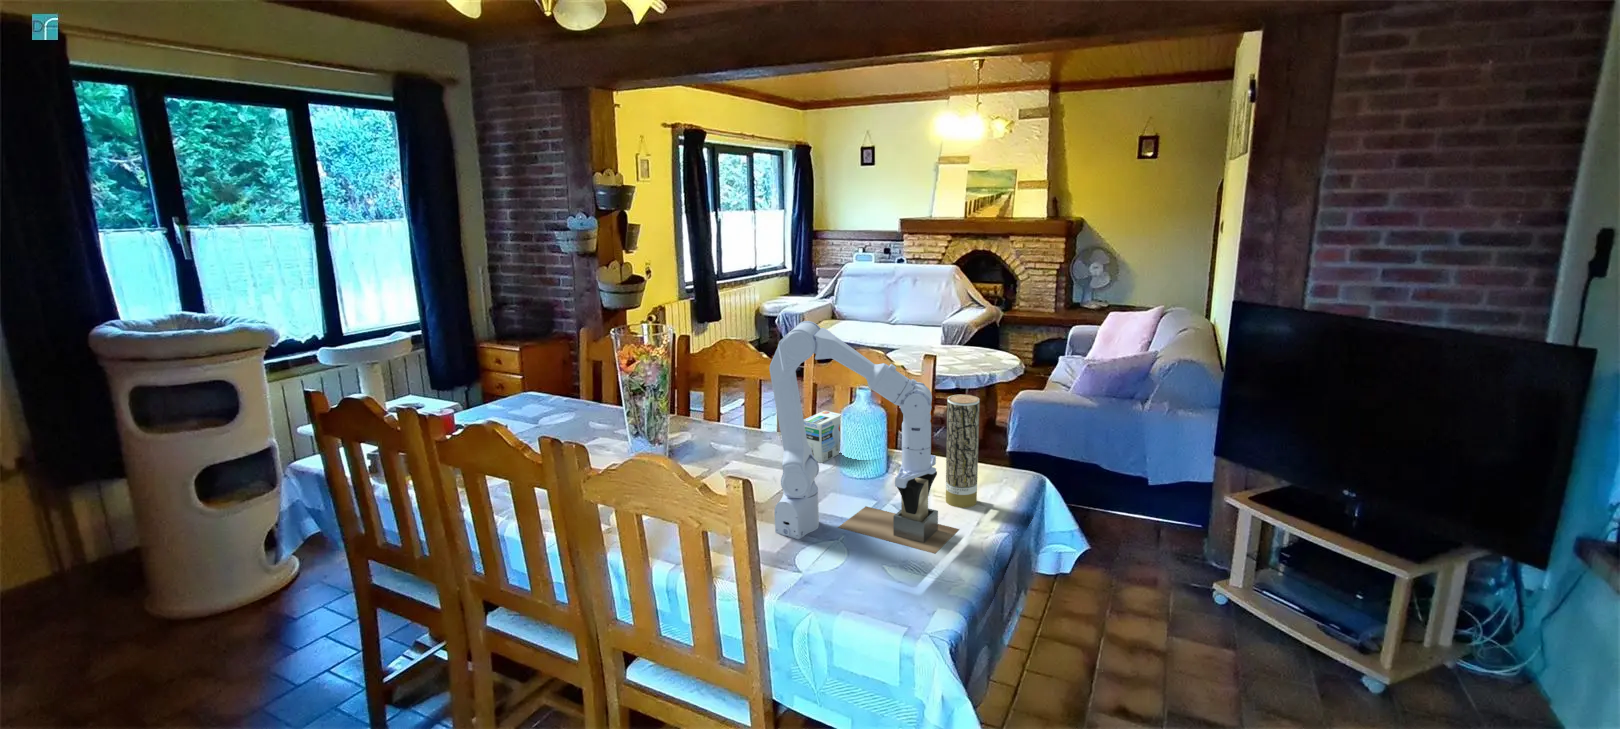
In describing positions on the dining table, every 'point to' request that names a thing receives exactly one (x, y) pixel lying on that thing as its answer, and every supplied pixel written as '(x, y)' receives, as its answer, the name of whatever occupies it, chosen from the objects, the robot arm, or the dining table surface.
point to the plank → (882, 528)
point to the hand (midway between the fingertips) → (915, 508)
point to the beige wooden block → (922, 504)
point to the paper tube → (962, 450)
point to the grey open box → (915, 526)
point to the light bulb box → (823, 435)
